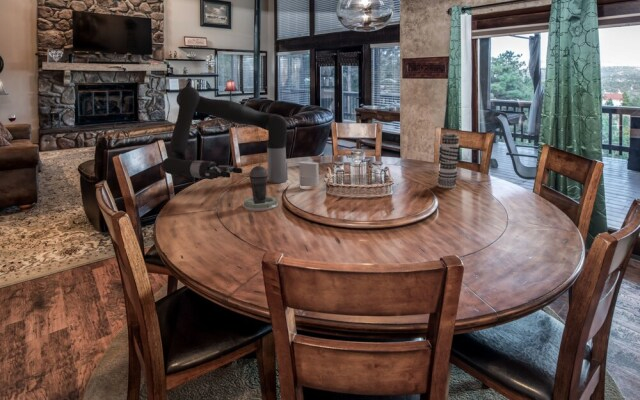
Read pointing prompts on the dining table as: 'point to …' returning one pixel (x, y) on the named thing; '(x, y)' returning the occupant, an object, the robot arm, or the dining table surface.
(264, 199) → the beverage cup
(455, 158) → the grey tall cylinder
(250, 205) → the rimmed coaster
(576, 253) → the dining table surface
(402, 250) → the dining table surface
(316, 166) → the grey upright block
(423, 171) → the dining table surface
